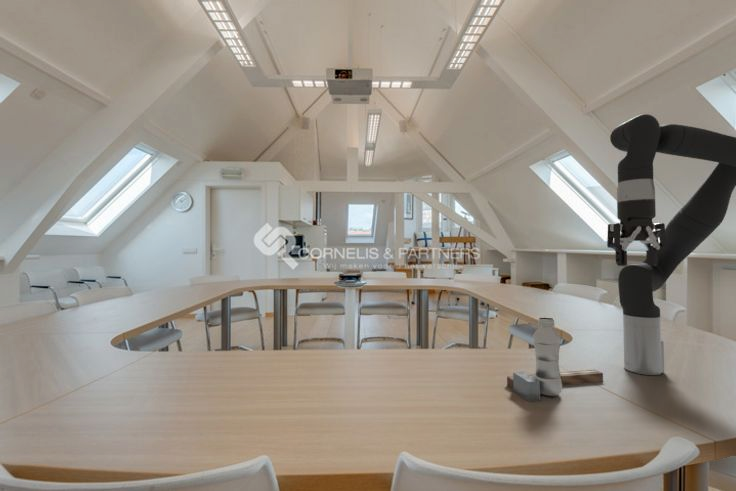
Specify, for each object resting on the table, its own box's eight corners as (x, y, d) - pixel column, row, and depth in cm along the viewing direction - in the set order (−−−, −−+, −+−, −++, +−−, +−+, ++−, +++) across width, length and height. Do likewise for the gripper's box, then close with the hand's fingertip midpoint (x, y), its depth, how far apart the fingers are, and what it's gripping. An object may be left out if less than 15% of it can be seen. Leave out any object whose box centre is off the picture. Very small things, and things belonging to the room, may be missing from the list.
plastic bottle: (566, 400, 90) (564, 321, 90) (537, 398, 91) (535, 320, 91) (558, 390, 96) (556, 316, 96) (531, 388, 97) (529, 316, 98)
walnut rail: (594, 377, 104) (594, 369, 105) (603, 381, 102) (602, 372, 102) (507, 385, 100) (507, 376, 100) (513, 389, 97) (512, 379, 97)
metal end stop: (523, 390, 97) (523, 371, 97) (540, 400, 90) (539, 381, 90) (513, 390, 96) (513, 372, 96) (529, 401, 89) (528, 382, 89)
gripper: (623, 197, 82) (625, 267, 82) (675, 197, 85) (677, 265, 84) (597, 201, 90) (599, 265, 90) (646, 202, 92) (647, 264, 92)
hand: (637, 265), depth 87 cm, fingers open, 8 cm apart
